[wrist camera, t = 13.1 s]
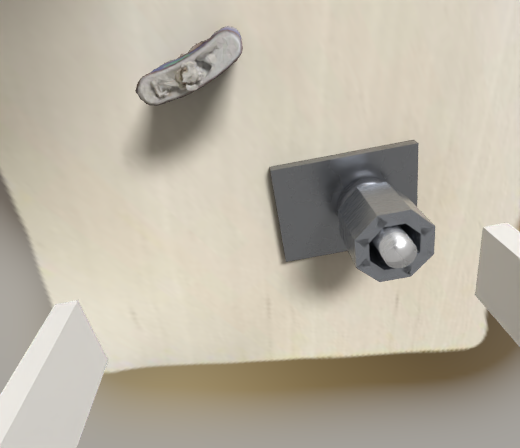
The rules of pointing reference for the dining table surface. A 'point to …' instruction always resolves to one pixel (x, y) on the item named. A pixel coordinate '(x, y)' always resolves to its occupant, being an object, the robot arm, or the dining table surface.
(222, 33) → the flask
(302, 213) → the shaft fixture
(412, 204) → the tube
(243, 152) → the dining table surface
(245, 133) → the dining table surface
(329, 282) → the dining table surface
